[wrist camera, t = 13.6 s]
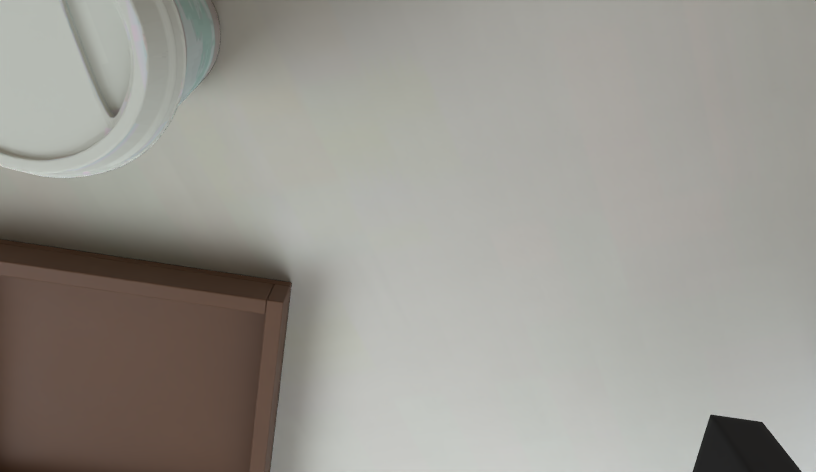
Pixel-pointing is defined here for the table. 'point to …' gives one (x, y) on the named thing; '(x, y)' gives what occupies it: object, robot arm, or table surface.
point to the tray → (135, 364)
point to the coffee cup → (96, 78)
